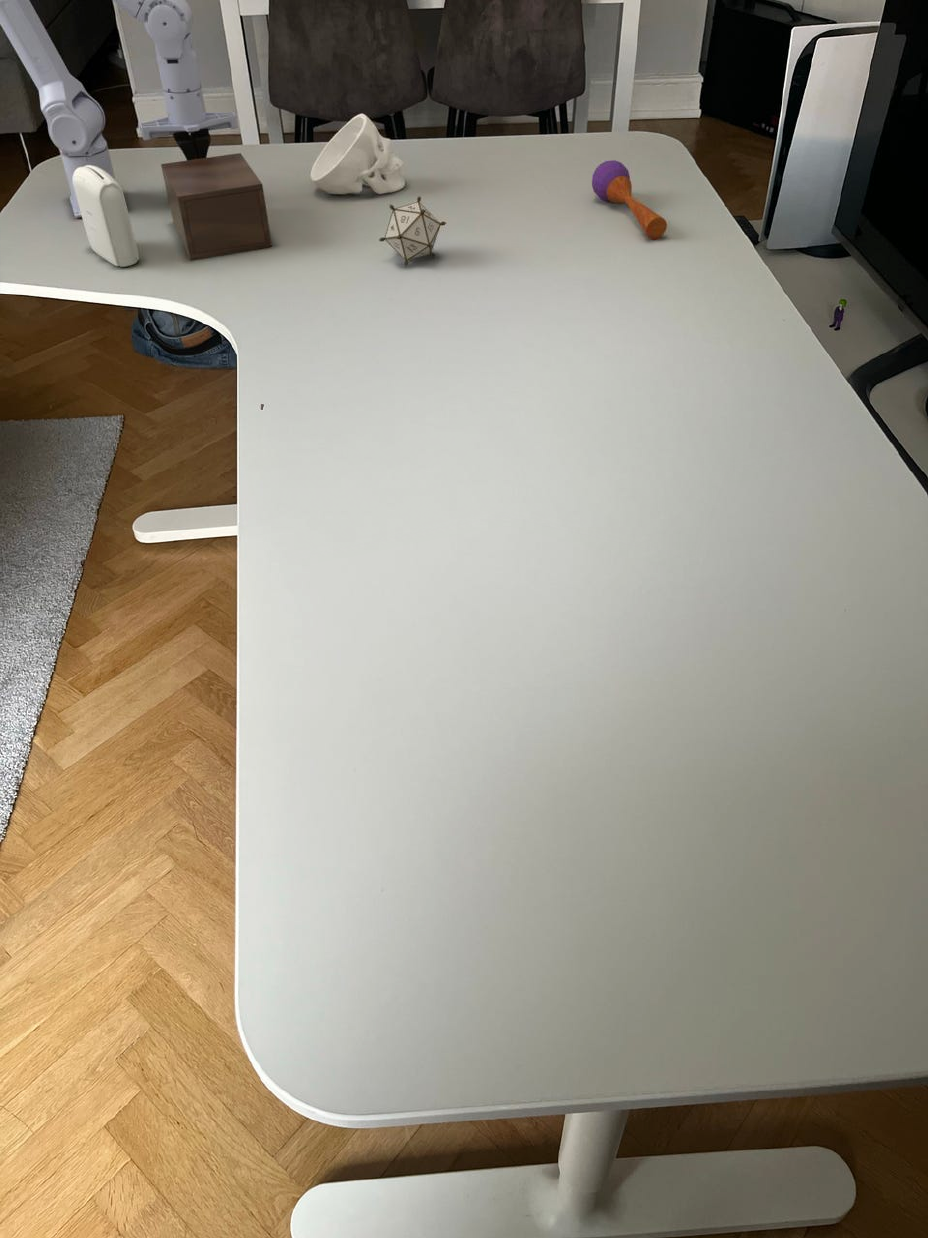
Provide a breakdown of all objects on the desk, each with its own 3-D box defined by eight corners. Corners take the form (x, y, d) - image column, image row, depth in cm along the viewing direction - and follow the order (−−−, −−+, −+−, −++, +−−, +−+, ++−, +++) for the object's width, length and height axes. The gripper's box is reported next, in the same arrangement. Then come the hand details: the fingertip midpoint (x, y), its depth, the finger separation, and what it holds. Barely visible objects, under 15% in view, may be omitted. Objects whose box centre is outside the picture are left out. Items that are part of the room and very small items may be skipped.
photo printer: (87, 249, 148) (63, 162, 140) (114, 241, 150) (91, 155, 142) (116, 270, 142) (93, 181, 134) (144, 262, 144) (123, 174, 136)
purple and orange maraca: (636, 215, 144) (584, 160, 157) (638, 252, 148) (587, 196, 161) (674, 202, 144) (619, 149, 157) (675, 240, 149) (621, 185, 162)
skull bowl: (421, 185, 161) (376, 120, 153) (353, 238, 165) (306, 178, 157) (409, 163, 169) (366, 100, 161) (344, 215, 172) (299, 156, 164)
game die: (403, 286, 145) (357, 235, 139) (424, 245, 149) (379, 193, 143) (445, 269, 139) (399, 215, 133) (466, 227, 142) (422, 172, 137)
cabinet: (173, 224, 155) (160, 163, 148) (250, 212, 158) (240, 152, 152) (190, 260, 145) (177, 196, 138) (271, 246, 148) (262, 183, 142)
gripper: (137, 100, 145) (157, 195, 154) (235, 89, 149) (249, 182, 158) (130, 87, 149) (150, 180, 159) (225, 76, 153) (240, 168, 163)
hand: (199, 180), depth 159 cm, fingers closed, pressing on drawer
